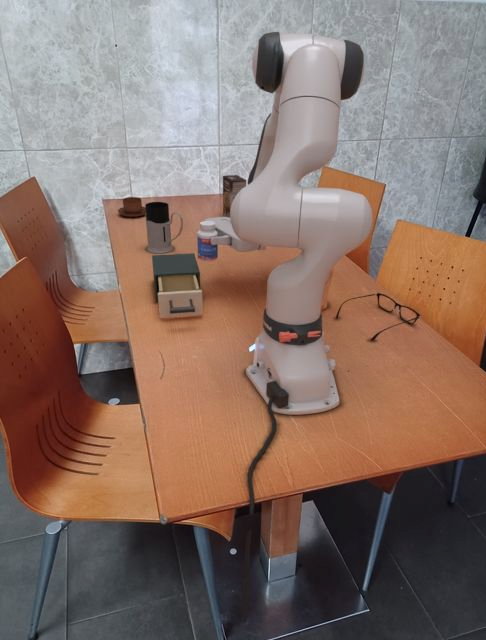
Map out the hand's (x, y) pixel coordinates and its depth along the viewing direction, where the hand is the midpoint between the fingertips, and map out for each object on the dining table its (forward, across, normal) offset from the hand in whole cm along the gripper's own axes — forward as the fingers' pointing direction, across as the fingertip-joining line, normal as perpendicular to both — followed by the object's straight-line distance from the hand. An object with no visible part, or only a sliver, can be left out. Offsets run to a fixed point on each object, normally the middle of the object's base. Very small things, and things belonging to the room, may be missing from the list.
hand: (204, 237), depth 132 cm
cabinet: (+6, -7, +17) cm, 19 cm away
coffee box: (-43, -59, +17) cm, 75 cm away
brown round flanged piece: (-9, -82, +16) cm, 84 cm away
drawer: (+11, +6, +16) cm, 20 cm away
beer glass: (-24, +20, +17) cm, 35 cm away
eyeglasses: (-31, +35, +17) cm, 50 cm away
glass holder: (-4, -38, +17) cm, 42 cm away
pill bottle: (-1, 0, +6) cm, 6 cm away
